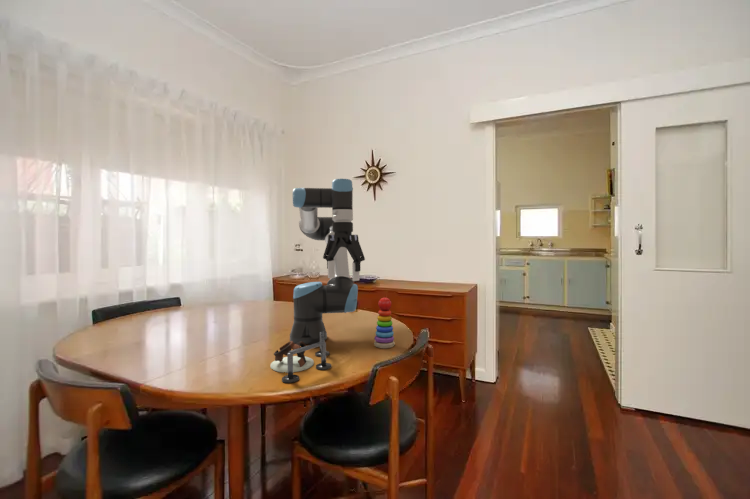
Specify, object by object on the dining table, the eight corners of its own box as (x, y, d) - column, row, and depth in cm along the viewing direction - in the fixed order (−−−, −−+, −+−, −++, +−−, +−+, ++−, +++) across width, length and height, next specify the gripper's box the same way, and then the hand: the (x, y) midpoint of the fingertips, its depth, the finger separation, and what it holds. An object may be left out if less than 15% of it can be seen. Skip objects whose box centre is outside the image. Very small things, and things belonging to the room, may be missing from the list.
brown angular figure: (298, 372, 112) (284, 350, 111) (278, 379, 116) (265, 358, 115) (318, 351, 122) (305, 331, 122) (299, 359, 127) (287, 339, 126)
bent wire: (260, 371, 112) (259, 345, 112) (322, 351, 132) (322, 328, 131) (288, 384, 102) (288, 355, 102) (351, 360, 122) (351, 335, 122)
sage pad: (262, 365, 118) (262, 364, 118) (296, 354, 128) (296, 353, 128) (287, 376, 109) (287, 374, 109) (322, 363, 119) (322, 362, 119)
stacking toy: (393, 349, 133) (392, 300, 132) (372, 348, 135) (371, 299, 134) (396, 343, 141) (395, 296, 140) (376, 342, 142) (375, 295, 142)
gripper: (313, 222, 136) (314, 277, 137) (359, 220, 119) (359, 283, 120) (328, 222, 142) (329, 275, 143) (374, 220, 125) (374, 280, 126)
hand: (343, 279), depth 131 cm, fingers open, 13 cm apart
